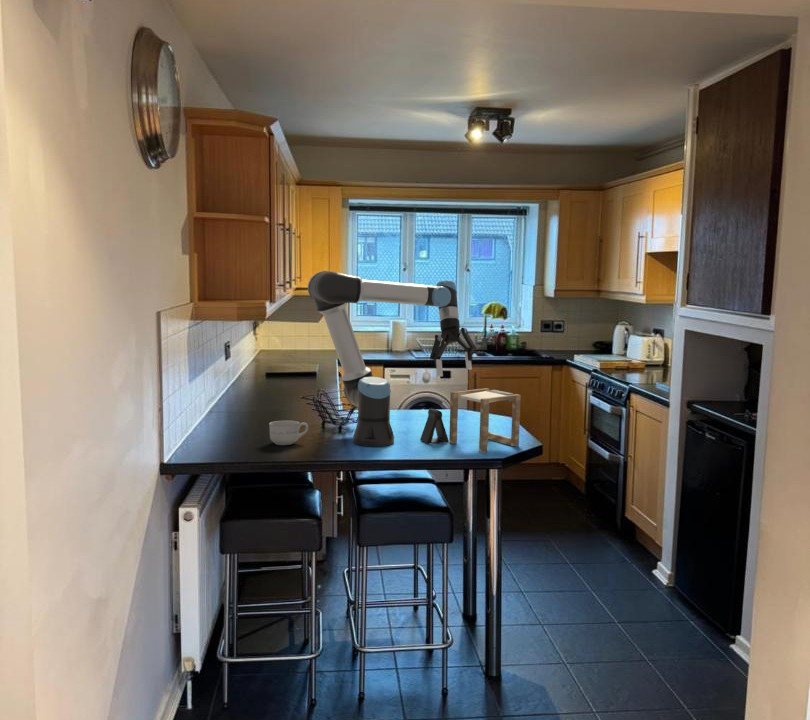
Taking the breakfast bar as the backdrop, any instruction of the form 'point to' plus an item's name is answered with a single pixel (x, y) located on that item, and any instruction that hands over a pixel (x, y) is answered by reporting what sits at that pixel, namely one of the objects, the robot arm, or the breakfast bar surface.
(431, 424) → the phone stand
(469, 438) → the breakfast bar surface
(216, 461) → the breakfast bar surface
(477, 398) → the trapdoor
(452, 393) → the trapdoor frame
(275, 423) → the teacup
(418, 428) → the breakfast bar surface
